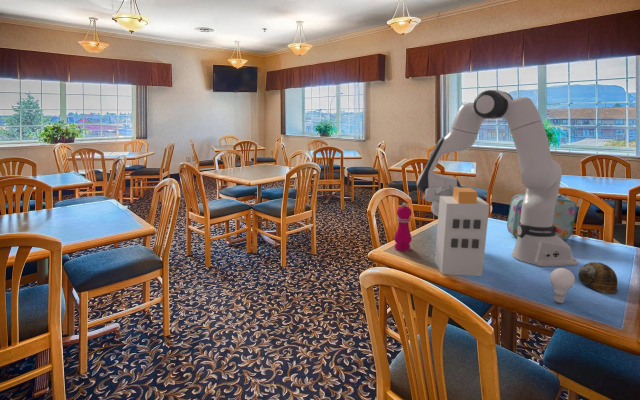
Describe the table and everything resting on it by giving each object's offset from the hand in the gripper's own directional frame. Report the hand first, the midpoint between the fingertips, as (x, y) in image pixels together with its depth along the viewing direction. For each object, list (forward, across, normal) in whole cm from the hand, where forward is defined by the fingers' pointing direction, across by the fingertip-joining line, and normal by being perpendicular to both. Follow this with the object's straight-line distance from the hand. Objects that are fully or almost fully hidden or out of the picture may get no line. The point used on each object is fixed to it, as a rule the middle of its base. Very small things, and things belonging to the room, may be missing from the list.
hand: (455, 188), depth 149 cm
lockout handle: (+5, 0, +5) cm, 7 cm away
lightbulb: (+18, +24, +43) cm, 52 cm away
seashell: (+7, +42, +36) cm, 56 cm away
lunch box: (-38, +46, +11) cm, 60 cm away
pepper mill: (-20, -18, +20) cm, 34 cm away
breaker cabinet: (-3, 0, +30) cm, 31 cm away
